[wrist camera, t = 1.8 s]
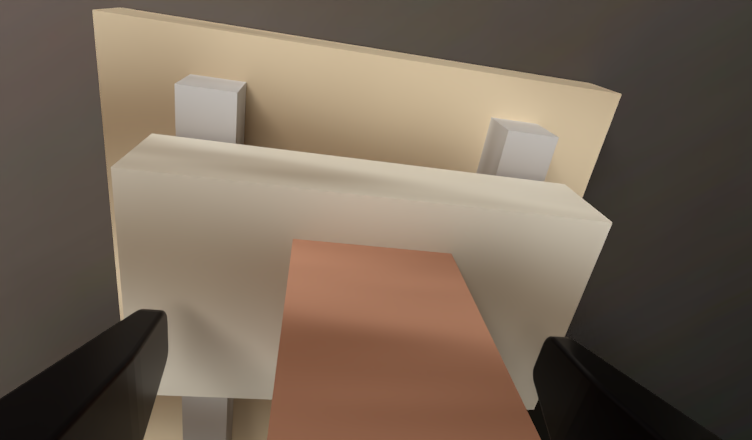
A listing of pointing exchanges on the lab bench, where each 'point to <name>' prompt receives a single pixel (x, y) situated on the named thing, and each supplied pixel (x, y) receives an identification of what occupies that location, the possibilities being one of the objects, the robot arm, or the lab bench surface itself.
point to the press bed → (328, 127)
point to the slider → (351, 285)
